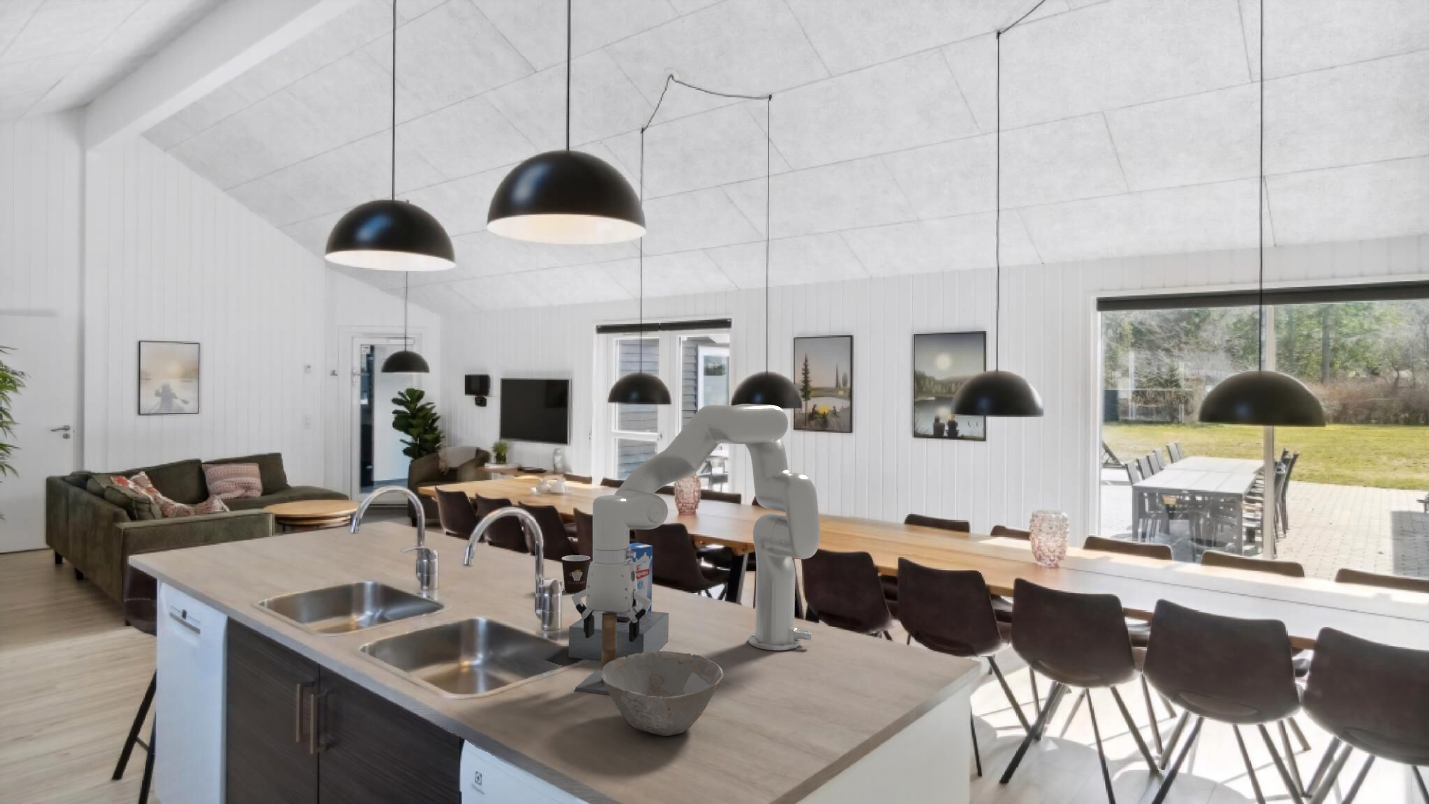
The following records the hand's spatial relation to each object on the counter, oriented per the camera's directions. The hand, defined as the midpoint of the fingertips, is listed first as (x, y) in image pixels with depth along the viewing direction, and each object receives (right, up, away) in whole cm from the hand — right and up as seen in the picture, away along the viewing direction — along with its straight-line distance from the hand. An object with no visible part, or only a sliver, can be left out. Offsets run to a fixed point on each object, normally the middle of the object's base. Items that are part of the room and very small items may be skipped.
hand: (611, 638), depth 161 cm
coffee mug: (-20, -9, +77) cm, 80 cm away
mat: (-1, -10, 0) cm, 10 cm away
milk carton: (-1, -10, +45) cm, 46 cm away
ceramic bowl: (+12, -10, -20) cm, 25 cm away
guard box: (-1, -9, +22) cm, 24 cm away
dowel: (-1, -9, 0) cm, 9 cm away
